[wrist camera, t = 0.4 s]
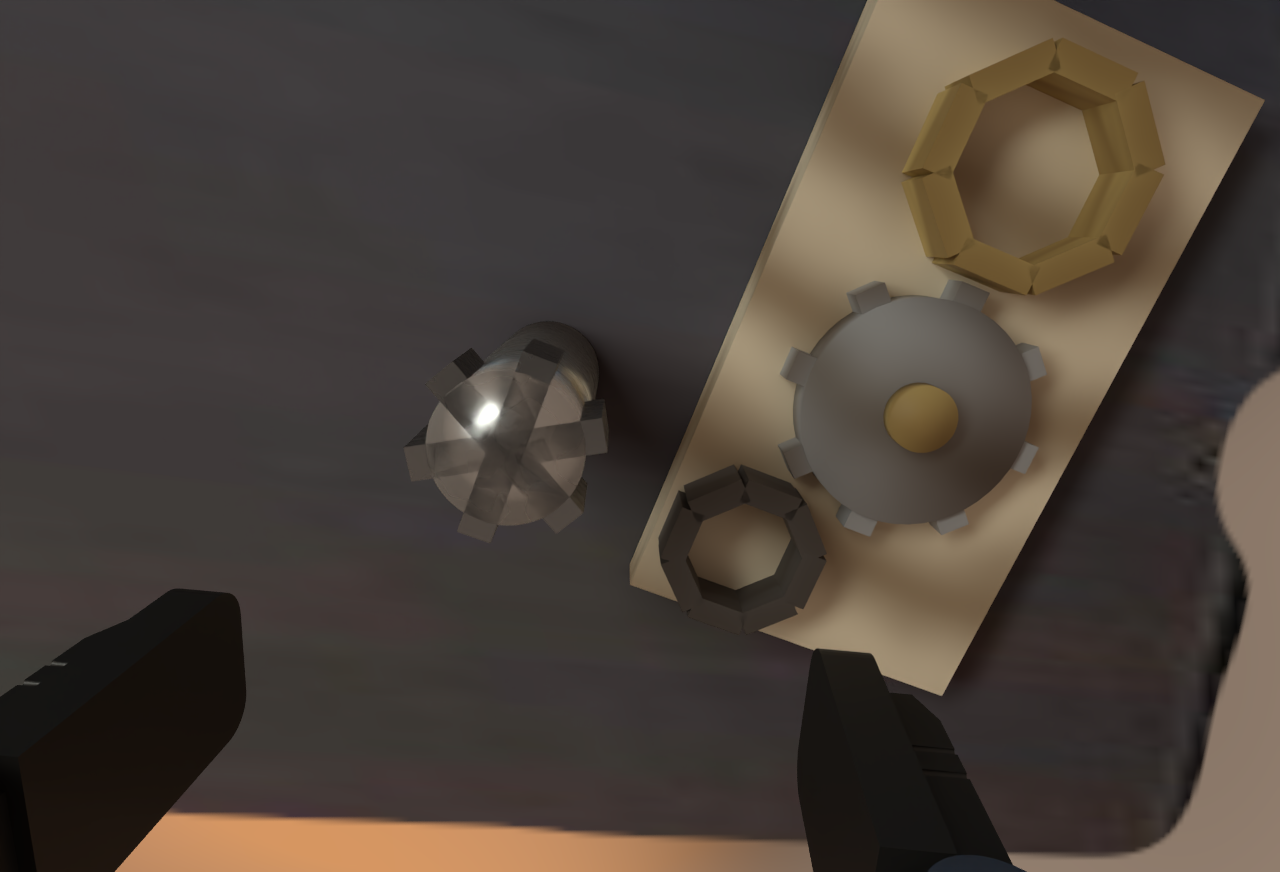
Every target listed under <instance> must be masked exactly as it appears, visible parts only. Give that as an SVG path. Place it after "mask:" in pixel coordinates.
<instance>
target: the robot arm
mask: <svg viewBox="0 0 1280 872" xmlns="http://www.w3.org/2000/svg"><path fill="white" fill-rule="evenodd" d="M245 702H246V681H245V668H244V654H243V640H242V626H241V613H240V607H239V603H238V601H237V599H236V598H235V596H234V595H232V594H230V593H222V592H211V591H200V590H190V589H172V590H170V591H168V592H167V593H165V594H164V595H162V596H161V597H160V598H158V599H157V600H155V601H154V602H153V603H151V604H150V605H148V606H147V607H146V608H144V609H143V610H141V611H140V612H139V613H137V614H136V615H134V616H133V617H132V618H130V619H129V620H127V621H124V622H122V623H120V624H117V625H115V626H112V627H110V628H108V629H105V630H103V631H101V632H98V633H96V634H93V635H91V636H89V637H86V638H84V639H83V640H81V641H80V642H79V643H77V644H76V645H74V646H73V647H71V648H70V649H68V650H67V651H66V652H64V653H63V654H61V655H60V656H58V657H57V658H56V659H54V660H53V661H52V664H51V666H46V665H45V666H44V667H43V668H41V669H40V670H38V671H37V672H35V673H34V674H32V675H31V676H30V677H28V678H27V679H25V682H24V684H23V685H17V686H15V687H14V688H12V689H11V690H9V691H8V692H7V693H5V694H4V695H2V696H1V697H0V872H115V870H117V868H118V867H119V866H120V865H121V864H122V863H123V862H124V860H125V859H126V858H127V857H128V856H129V855H130V854H131V852H132V851H133V850H134V849H135V848H136V847H137V846H138V844H139V843H140V842H141V841H142V840H143V839H144V838H145V836H146V835H147V834H148V833H149V832H150V831H151V830H152V829H153V827H154V826H155V825H156V824H157V823H158V822H159V820H160V819H161V818H162V817H163V816H164V815H165V814H166V813H167V811H168V810H169V809H170V808H171V807H172V806H173V805H174V803H175V802H176V801H177V800H178V799H179V798H180V797H181V796H182V794H183V793H184V792H185V791H186V790H187V789H188V788H189V786H190V785H191V784H192V783H193V782H194V781H195V780H196V778H197V777H198V776H199V775H200V774H201V773H202V772H203V770H204V769H205V768H206V767H207V766H208V765H209V764H210V763H211V761H212V760H213V759H214V758H215V757H216V756H217V755H218V753H219V752H220V751H221V750H222V749H223V748H224V747H225V745H226V744H227V743H228V742H229V741H230V740H231V738H232V737H233V735H234V734H235V732H236V730H237V728H238V726H239V724H240V721H241V719H242V715H243V712H244V708H245ZM966 774H967V773H966V771H965V769H964V767H963V765H962V763H961V761H960V759H959V757H958V755H955V754H954V747H953V745H952V743H951V741H950V739H949V737H948V735H947V733H946V731H945V729H944V727H943V725H942V723H941V721H940V720H939V719H938V718H937V717H936V716H935V715H934V714H932V713H931V712H930V711H929V710H928V709H927V708H926V707H925V706H924V705H923V704H921V703H920V702H919V701H918V700H917V699H916V698H915V697H914V696H913V695H909V694H898V693H889V691H888V689H887V686H886V684H885V681H884V679H883V677H882V674H881V672H880V670H879V667H878V665H877V663H876V660H875V658H874V656H873V655H872V654H871V653H864V652H853V651H842V650H831V649H820V648H816V649H815V650H814V652H813V655H812V659H811V663H810V670H809V677H808V684H807V691H806V698H805V705H804V712H803V719H802V726H801V733H800V740H799V747H798V760H797V782H798V794H799V800H800V805H801V810H802V816H803V821H804V826H805V831H806V836H807V841H808V847H809V852H810V857H811V862H812V867H813V872H1026V871H1024V870H1022V869H1020V868H1018V867H1016V866H1014V865H1013V864H1012V862H1011V860H1010V858H1009V856H1008V854H1007V852H1006V850H1005V848H1004V846H1003V844H1002V842H1001V840H1000V838H999V836H998V834H997V832H996V830H995V829H994V827H993V825H992V823H991V821H990V819H989V817H988V815H987V813H986V811H985V809H984V807H983V805H982V803H981V801H980V799H979V797H978V795H977V793H976V791H975V789H974V787H973V785H972V783H971V781H970V779H967V777H966Z"/></svg>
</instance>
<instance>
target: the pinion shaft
mask: <svg viewBox="0 0 1280 872" xmlns="http://www.w3.org/2000/svg"><path fill="white" fill-rule="evenodd" d="M598 381H599V363H598V359H597V356H596V353H595V351H594V349H593V347H592V345H591V344H590V343H589V341H588V340H587V339H586V338H585V337H584V336H583V335H582V334H581V333H580V332H579V331H577V330H576V329H574V328H572V327H570V326H568V325H566V324H563V323H559V322H554V321H543V322H537V323H533V324H530V325H527V326H525V327H523V328H521V329H520V330H519V331H517V332H516V333H515V334H514V335H512V336H511V337H510V338H509V339H508V340H507V341H506V342H505V343H503V344H502V345H501V346H500V347H499V348H498V349H497V350H496V351H494V352H493V353H492V354H491V355H490V356H489V357H488V358H486V359H485V360H484V361H483V360H482V359H481V358H480V357H479V356H478V354H477V353H476V352H475V351H474V350H473V349H472V348H470V349H469V350H468V351H466V352H465V353H463V354H462V355H461V356H459V357H458V358H457V359H455V360H454V361H452V362H451V363H450V364H449V365H448V366H446V367H445V368H444V369H443V370H442V371H440V372H439V373H438V374H437V375H435V376H434V377H433V378H432V379H431V380H429V381H428V382H427V383H426V384H425V385H426V386H427V387H428V388H429V389H430V390H431V391H432V393H433V394H434V395H435V396H436V397H437V398H438V399H439V401H440V402H439V404H438V405H437V407H436V409H435V410H434V412H433V414H432V417H431V419H430V421H429V424H428V425H427V426H426V427H425V428H423V429H422V430H421V431H420V432H419V433H418V434H417V435H416V436H415V437H414V438H413V439H412V440H411V441H410V442H409V443H408V444H407V445H406V446H405V447H404V451H405V456H406V460H407V464H408V469H409V473H410V477H411V482H412V481H419V480H425V479H432V478H433V479H434V481H435V483H436V485H437V486H438V488H439V490H440V491H441V492H442V493H443V495H444V496H445V497H446V498H447V499H448V500H449V501H450V502H451V503H452V504H453V505H454V506H455V507H457V508H458V509H459V510H461V511H462V512H464V514H463V516H462V519H461V522H460V525H459V527H458V530H457V532H460V533H462V534H465V535H468V536H471V537H474V538H476V539H479V540H482V541H485V542H488V543H491V541H492V538H493V536H494V534H495V531H496V529H497V527H498V525H520V524H525V523H530V522H533V521H536V520H539V519H541V518H543V519H544V520H545V522H546V523H547V524H548V525H549V526H550V527H551V528H552V530H553V531H554V532H555V533H556V534H557V533H558V532H559V531H561V530H562V529H563V528H564V527H566V526H567V525H568V524H570V523H571V522H572V521H574V520H575V519H576V518H577V517H579V516H580V515H581V514H583V512H584V505H585V497H586V490H587V483H586V481H585V480H584V479H583V478H582V477H581V476H582V473H583V469H584V465H585V459H586V456H588V455H594V454H601V453H607V452H608V438H609V426H608V420H607V413H606V407H605V401H604V398H603V399H596V393H597V387H598ZM595 399H596V400H595Z"/></svg>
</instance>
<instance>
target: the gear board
mask: <svg viewBox="0 0 1280 872" xmlns="http://www.w3.org/2000/svg"><path fill="white" fill-rule="evenodd" d="M1264 101H1265V100H1263V99H1261V98H1259V97H1257V96H1255V95H1253V94H1251V93H1248V92H1246V91H1244V90H1242V89H1240V88H1238V87H1236V86H1234V85H1231V84H1229V83H1227V82H1225V81H1223V80H1221V79H1219V78H1217V77H1215V76H1212V75H1210V74H1208V73H1206V72H1204V71H1202V70H1200V69H1198V68H1196V67H1193V66H1191V65H1189V64H1187V63H1185V62H1183V61H1181V60H1179V59H1177V58H1174V57H1172V56H1170V55H1168V54H1166V53H1164V52H1162V51H1160V50H1158V49H1155V48H1153V47H1151V46H1149V45H1147V44H1145V43H1143V42H1141V41H1139V40H1136V39H1134V38H1132V37H1130V36H1128V35H1126V34H1124V33H1122V32H1119V31H1117V30H1115V29H1113V28H1111V27H1109V26H1107V25H1105V24H1103V23H1100V22H1098V21H1096V20H1094V19H1092V18H1090V17H1088V16H1086V15H1084V14H1081V13H1079V12H1077V11H1075V10H1073V9H1071V8H1069V7H1067V6H1065V5H1062V4H1060V3H1058V2H1056V1H1054V0H867V2H866V5H865V7H864V9H863V12H862V14H861V17H860V19H859V21H858V24H857V26H856V28H855V31H854V33H853V36H852V38H851V40H850V43H849V45H848V47H847V50H846V52H845V55H844V57H843V59H842V62H841V64H840V66H839V69H838V71H837V74H836V76H835V78H834V81H833V83H832V85H831V88H830V90H829V93H828V95H827V97H826V100H825V102H824V104H823V107H822V109H821V112H820V114H819V116H818V119H817V121H816V123H815V126H814V128H813V131H812V133H811V135H810V138H809V140H808V142H807V145H806V147H805V150H804V152H803V154H802V157H801V159H800V161H799V164H798V166H797V169H796V171H795V173H794V176H793V178H792V180H791V183H790V185H789V187H788V190H787V192H786V195H785V197H784V199H783V202H782V204H781V206H780V209H779V211H778V214H777V216H776V218H775V221H774V223H773V225H772V228H771V230H770V233H769V235H768V237H767V240H766V242H765V244H764V247H763V249H762V252H761V254H760V256H759V259H758V261H757V263H756V266H755V268H754V271H753V273H752V275H751V278H750V280H749V282H748V285H747V287H746V290H745V292H744V294H743V297H742V299H741V301H740V304H739V306H738V309H737V311H736V313H735V316H734V318H733V320H732V323H731V325H730V328H729V330H728V332H727V335H726V337H725V339H724V342H723V344H722V347H721V349H720V351H719V354H718V356H717V358H716V361H715V363H714V366H713V368H712V370H711V373H710V375H709V377H708V380H707V382H706V385H705V387H704V389H703V392H702V394H701V396H700V399H699V401H698V404H697V406H696V408H695V411H694V413H693V415H692V418H691V420H690V423H689V425H688V427H687V430H686V432H685V434H684V437H683V439H682V442H681V444H680V446H679V449H678V451H677V453H676V456H675V458H674V461H673V463H672V465H671V468H670V470H669V472H668V475H667V477H666V480H665V482H664V484H663V487H662V489H661V491H660V494H659V496H658V499H657V501H656V503H655V506H654V508H653V510H652V513H651V515H650V518H649V520H648V522H647V525H646V527H645V529H644V532H643V534H642V537H641V539H640V541H639V544H638V546H637V548H636V551H635V553H634V556H633V558H632V560H631V563H630V585H632V586H635V587H638V588H641V589H644V590H646V591H649V592H652V593H655V594H658V595H660V596H663V597H666V598H669V599H672V600H674V601H677V602H678V604H679V606H680V608H681V610H682V612H685V611H687V615H688V617H689V618H692V619H695V620H697V621H700V622H703V623H706V624H709V625H711V626H714V627H717V628H720V629H723V630H726V631H728V632H731V633H734V634H737V635H739V634H740V632H741V630H742V628H743V629H744V631H745V633H746V635H748V634H750V633H753V632H755V631H761V632H764V633H767V634H770V635H772V636H775V637H778V638H781V639H784V640H786V641H789V642H792V643H795V644H798V645H800V646H803V647H806V648H809V649H812V650H815V649H816V648H820V649H831V650H842V651H853V652H864V653H871V654H872V655H873V656H874V658H875V660H876V663H877V665H878V667H879V670H880V672H881V674H882V675H884V676H887V677H890V678H893V679H896V680H898V681H901V682H904V683H907V684H910V685H912V686H915V687H918V688H921V689H924V690H926V691H929V692H932V693H935V694H938V695H940V696H942V695H943V693H944V691H945V689H946V687H947V686H948V684H949V682H950V680H951V678H952V676H953V675H954V673H955V671H956V669H957V667H958V665H959V664H960V662H961V660H962V658H963V656H964V654H965V652H966V651H967V649H968V647H969V645H970V643H971V641H972V640H973V638H974V636H975V634H976V632H977V630H978V628H979V627H980V625H981V623H982V621H983V619H984V617H985V616H986V614H987V612H988V610H989V608H990V606H991V604H992V603H993V601H994V599H995V597H996V595H997V593H998V592H999V590H1000V588H1001V586H1002V584H1003V582H1004V581H1005V579H1006V577H1007V575H1008V573H1009V571H1010V569H1011V568H1012V566H1013V564H1014V562H1015V560H1016V558H1017V557H1018V555H1019V553H1020V551H1021V549H1022V547H1023V545H1024V544H1025V542H1026V540H1027V538H1028V536H1029V534H1030V533H1031V531H1032V529H1033V527H1034V525H1035V523H1036V521H1037V520H1038V518H1039V516H1040V514H1041V512H1042V510H1043V509H1044V507H1045V505H1046V503H1047V501H1048V499H1049V498H1050V496H1051V494H1052V492H1053V490H1054V488H1055V486H1056V485H1057V483H1058V481H1059V479H1060V477H1061V475H1062V474H1063V472H1064V470H1065V468H1066V466H1067V464H1068V462H1069V461H1070V459H1071V457H1072V455H1073V453H1074V451H1075V450H1076V448H1077V446H1078V444H1079V442H1080V440H1081V438H1082V437H1083V435H1084V433H1085V431H1086V429H1087V427H1088V426H1089V424H1090V422H1091V420H1092V418H1093V416H1094V415H1095V413H1096V411H1097V409H1098V407H1099V405H1100V403H1101V402H1102V400H1103V398H1104V396H1105V394H1106V392H1107V391H1108V389H1109V387H1110V385H1111V383H1112V381H1113V379H1114V378H1115V376H1116V374H1117V372H1118V370H1119V368H1120V367H1121V365H1122V363H1123V361H1124V359H1125V357H1126V356H1127V354H1128V352H1129V350H1130V348H1131V346H1132V344H1133V343H1134V341H1135V339H1136V337H1137V335H1138V333H1139V332H1140V330H1141V328H1142V326H1143V324H1144V322H1145V320H1146V319H1147V317H1148V315H1149V313H1150V311H1151V309H1152V308H1153V306H1154V304H1155V302H1156V300H1157V298H1158V296H1159V295H1160V293H1161V291H1162V289H1163V287H1164V285H1165V284H1166V282H1167V280H1168V278H1169V276H1170V274H1171V273H1172V271H1173V269H1174V267H1175V265H1176V263H1177V261H1178V260H1179V258H1180V256H1181V254H1182V252H1183V250H1184V249H1185V247H1186V245H1187V243H1188V241H1189V239H1190V237H1191V236H1192V234H1193V232H1194V230H1195V228H1196V226H1197V225H1198V223H1199V221H1200V219H1201V217H1202V215H1203V213H1204V212H1205V210H1206V208H1207V206H1208V204H1209V202H1210V201H1211V199H1212V197H1213V195H1214V193H1215V191H1216V190H1217V188H1218V186H1219V184H1220V182H1221V180H1222V178H1223V177H1224V175H1225V173H1226V171H1227V169H1228V167H1229V166H1230V164H1231V162H1232V160H1233V158H1234V156H1235V154H1236V153H1237V151H1238V149H1239V147H1240V145H1241V143H1242V142H1243V140H1244V138H1245V136H1246V134H1247V132H1248V130H1249V129H1250V127H1251V125H1252V123H1253V121H1254V119H1255V118H1256V116H1257V114H1258V112H1259V110H1260V108H1261V107H1262V105H1263V103H1264Z"/></svg>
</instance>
